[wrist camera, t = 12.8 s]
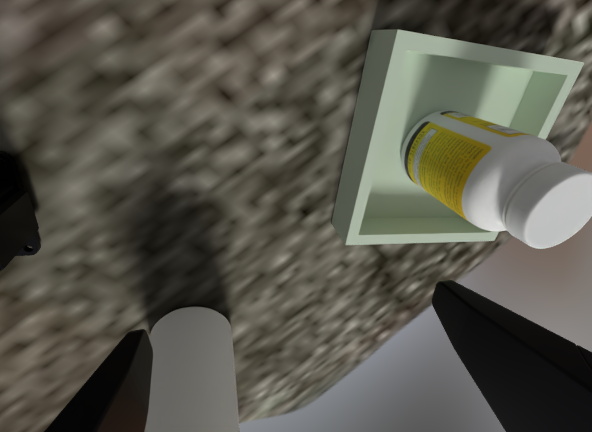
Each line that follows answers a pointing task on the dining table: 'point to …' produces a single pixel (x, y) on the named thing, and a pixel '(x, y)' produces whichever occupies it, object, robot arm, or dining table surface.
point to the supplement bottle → (498, 177)
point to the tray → (420, 103)
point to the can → (192, 373)
